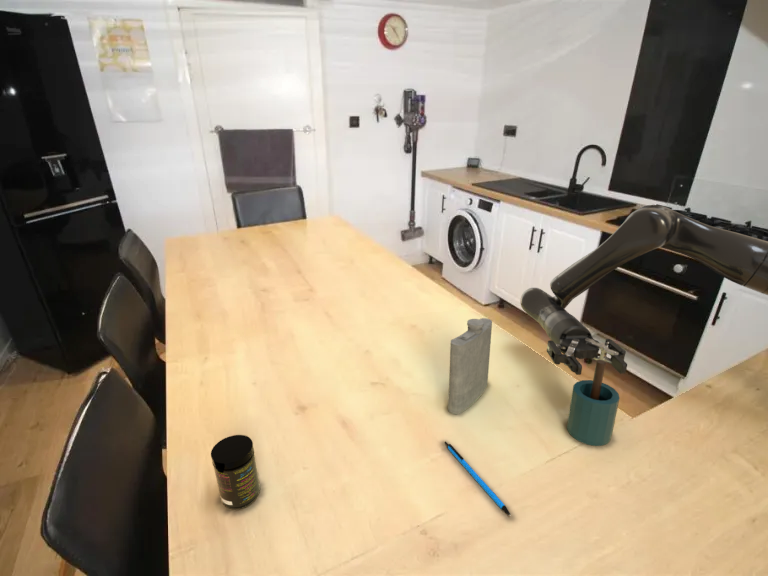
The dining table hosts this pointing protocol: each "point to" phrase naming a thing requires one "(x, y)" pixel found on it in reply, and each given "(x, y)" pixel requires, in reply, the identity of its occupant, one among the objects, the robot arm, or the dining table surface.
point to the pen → (477, 478)
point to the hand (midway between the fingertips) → (602, 370)
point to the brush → (597, 379)
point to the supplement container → (236, 471)
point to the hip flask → (469, 365)
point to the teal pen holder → (592, 414)
